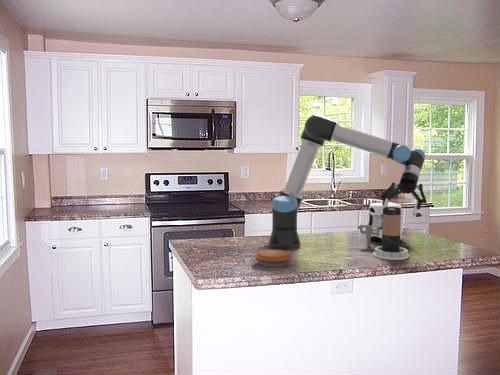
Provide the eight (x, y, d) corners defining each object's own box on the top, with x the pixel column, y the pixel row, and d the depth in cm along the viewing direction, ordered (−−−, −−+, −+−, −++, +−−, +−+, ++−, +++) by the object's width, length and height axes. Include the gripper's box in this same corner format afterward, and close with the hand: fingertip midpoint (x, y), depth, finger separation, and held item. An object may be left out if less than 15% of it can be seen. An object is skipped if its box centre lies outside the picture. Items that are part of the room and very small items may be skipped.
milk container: (399, 237, 243) (400, 202, 241) (405, 244, 226) (406, 207, 224) (365, 236, 245) (366, 202, 243) (368, 243, 228) (369, 206, 226)
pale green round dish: (378, 260, 195) (378, 253, 195) (369, 251, 210) (369, 245, 210) (414, 259, 195) (414, 253, 195) (402, 251, 210) (402, 245, 210)
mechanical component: (380, 247, 218) (380, 226, 217) (357, 246, 220) (358, 225, 219) (379, 246, 221) (380, 225, 220) (357, 245, 223) (358, 224, 222)
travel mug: (403, 254, 200) (405, 209, 198) (389, 256, 198) (390, 209, 196) (392, 251, 207) (393, 206, 205) (377, 252, 205) (379, 207, 203)
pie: (258, 258, 198) (258, 246, 198) (294, 260, 195) (294, 248, 195) (251, 268, 183) (251, 255, 182) (290, 270, 180) (290, 257, 180)
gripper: (439, 183, 211) (429, 220, 200) (385, 180, 225) (373, 215, 215) (437, 172, 206) (426, 210, 196) (382, 170, 221) (369, 205, 210)
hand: (398, 212), depth 205 cm, fingers open, 13 cm apart
